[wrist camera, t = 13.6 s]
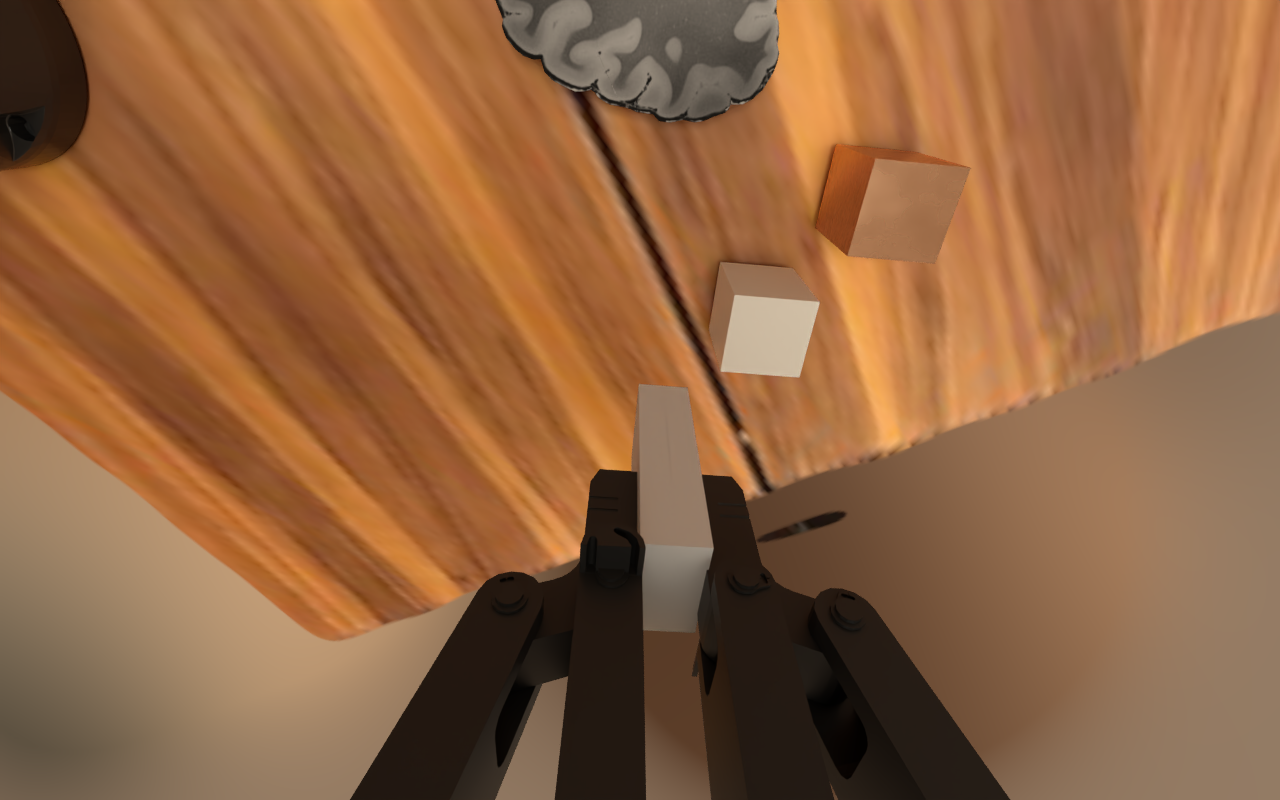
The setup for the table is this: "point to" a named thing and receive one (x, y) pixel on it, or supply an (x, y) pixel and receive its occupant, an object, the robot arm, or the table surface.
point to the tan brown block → (889, 203)
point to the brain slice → (651, 50)
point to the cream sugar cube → (761, 319)
